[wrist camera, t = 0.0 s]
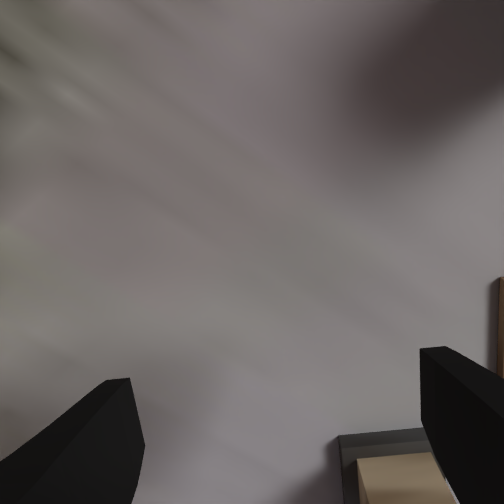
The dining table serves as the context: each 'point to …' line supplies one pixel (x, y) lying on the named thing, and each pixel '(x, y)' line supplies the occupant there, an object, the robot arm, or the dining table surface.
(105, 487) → the robot arm
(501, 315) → the board
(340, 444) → the stamp
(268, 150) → the dining table surface
